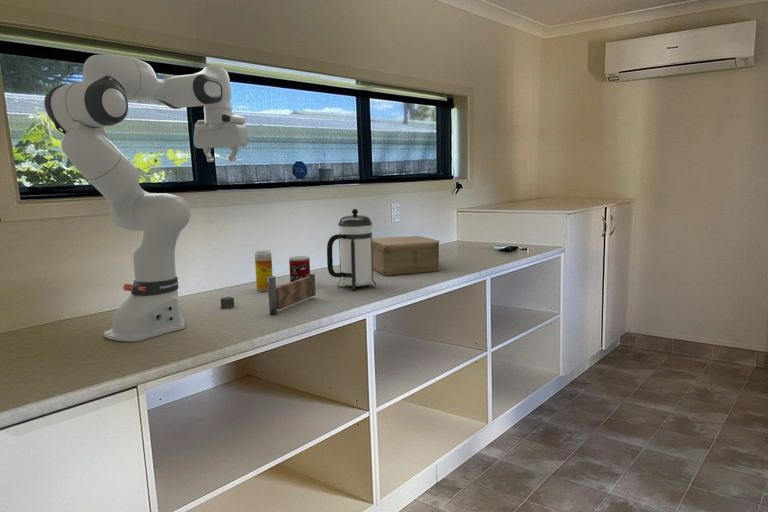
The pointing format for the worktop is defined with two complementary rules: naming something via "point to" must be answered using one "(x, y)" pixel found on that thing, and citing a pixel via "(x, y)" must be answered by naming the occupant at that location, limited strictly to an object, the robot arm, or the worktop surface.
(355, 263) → the coffee press
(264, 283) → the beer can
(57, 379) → the worktop surface
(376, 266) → the paper package
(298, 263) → the canned food
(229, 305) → the dark grey cube
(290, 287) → the gate
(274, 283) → the gate post
